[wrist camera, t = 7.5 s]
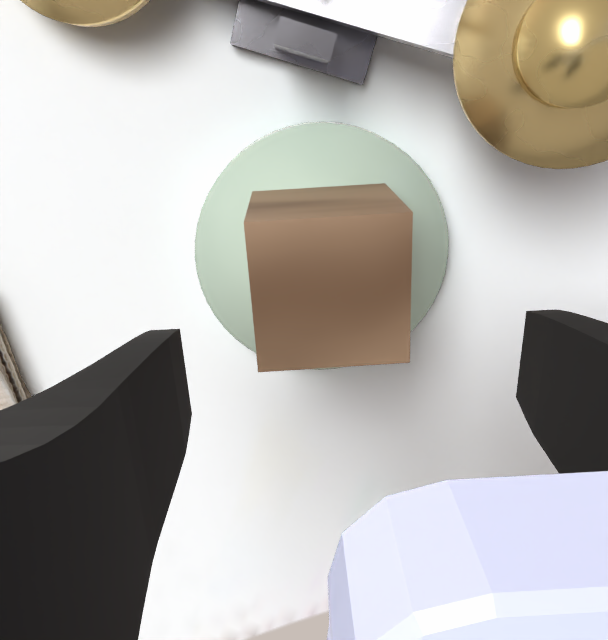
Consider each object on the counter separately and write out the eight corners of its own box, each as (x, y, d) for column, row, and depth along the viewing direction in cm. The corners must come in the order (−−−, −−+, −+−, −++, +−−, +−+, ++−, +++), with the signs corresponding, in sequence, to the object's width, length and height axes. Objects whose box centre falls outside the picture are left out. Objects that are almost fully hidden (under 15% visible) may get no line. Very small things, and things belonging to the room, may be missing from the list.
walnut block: (384, 306, 21) (409, 362, 17) (263, 313, 21) (258, 372, 17) (384, 183, 19) (412, 211, 15) (252, 191, 19) (243, 222, 15)
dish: (478, 162, 20) (487, 166, 19) (394, 379, 23) (399, 391, 22) (228, 88, 19) (225, 88, 18) (177, 328, 22) (173, 338, 21)
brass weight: (662, -4, 14) (680, -13, 13) (604, 123, 15) (617, 123, 14) (541, -38, 14) (550, -49, 13) (492, 89, 15) (498, 87, 14)
